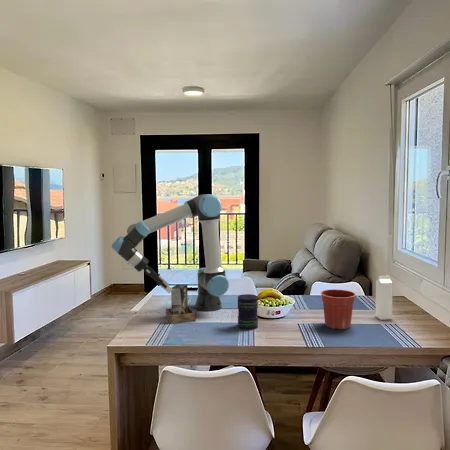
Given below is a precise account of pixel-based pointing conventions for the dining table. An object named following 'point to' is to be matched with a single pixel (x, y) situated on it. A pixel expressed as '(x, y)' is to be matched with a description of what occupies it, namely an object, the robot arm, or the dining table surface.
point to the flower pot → (338, 308)
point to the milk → (384, 298)
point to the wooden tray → (180, 316)
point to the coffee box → (179, 300)
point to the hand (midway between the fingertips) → (168, 288)
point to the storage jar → (247, 312)
